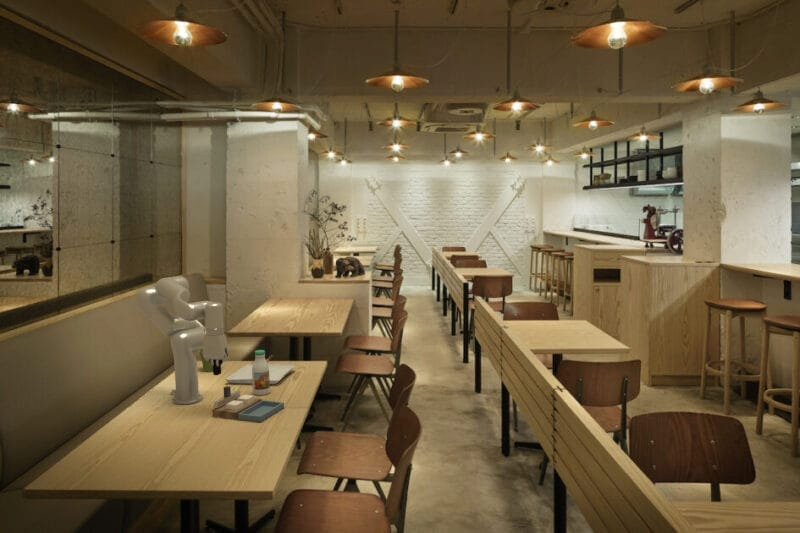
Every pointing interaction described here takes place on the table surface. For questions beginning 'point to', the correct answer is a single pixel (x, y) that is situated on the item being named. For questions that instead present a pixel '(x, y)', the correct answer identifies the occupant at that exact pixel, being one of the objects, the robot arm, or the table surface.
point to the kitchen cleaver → (269, 358)
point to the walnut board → (232, 414)
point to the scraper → (226, 397)
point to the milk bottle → (260, 374)
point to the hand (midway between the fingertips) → (217, 374)
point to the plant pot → (205, 362)
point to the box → (261, 411)
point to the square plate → (246, 373)
